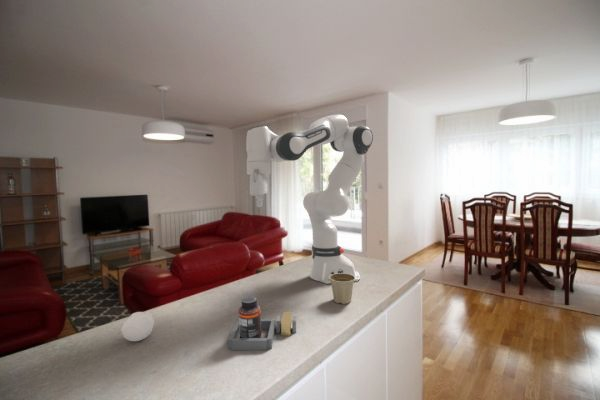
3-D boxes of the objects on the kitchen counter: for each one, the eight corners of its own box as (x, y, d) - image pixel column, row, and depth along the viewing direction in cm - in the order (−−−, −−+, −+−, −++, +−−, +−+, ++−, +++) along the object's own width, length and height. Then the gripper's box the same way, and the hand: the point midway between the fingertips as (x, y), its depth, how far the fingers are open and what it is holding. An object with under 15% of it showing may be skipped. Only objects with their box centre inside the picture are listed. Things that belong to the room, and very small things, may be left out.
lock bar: (283, 321, 86) (283, 312, 86) (291, 321, 86) (291, 312, 86) (281, 335, 78) (281, 325, 78) (290, 335, 78) (290, 325, 78)
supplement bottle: (254, 331, 81) (252, 293, 81) (265, 339, 77) (264, 299, 76) (235, 339, 77) (234, 299, 77) (246, 348, 73) (245, 306, 72)
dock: (296, 326, 83) (296, 315, 83) (295, 349, 72) (295, 336, 72) (237, 327, 83) (237, 316, 83) (227, 350, 72) (227, 337, 72)
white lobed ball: (143, 329, 83) (142, 304, 83) (161, 335, 80) (159, 308, 80) (116, 343, 76) (114, 315, 76) (134, 350, 73) (132, 321, 72)
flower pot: (323, 301, 101) (323, 277, 100) (338, 293, 108) (338, 271, 107) (345, 308, 95) (345, 283, 94) (360, 299, 101) (360, 276, 101)
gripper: (263, 168, 94) (264, 209, 95) (270, 170, 115) (271, 204, 116) (244, 168, 94) (245, 209, 95) (255, 171, 115) (256, 204, 116)
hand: (259, 206), depth 106 cm, fingers closed
